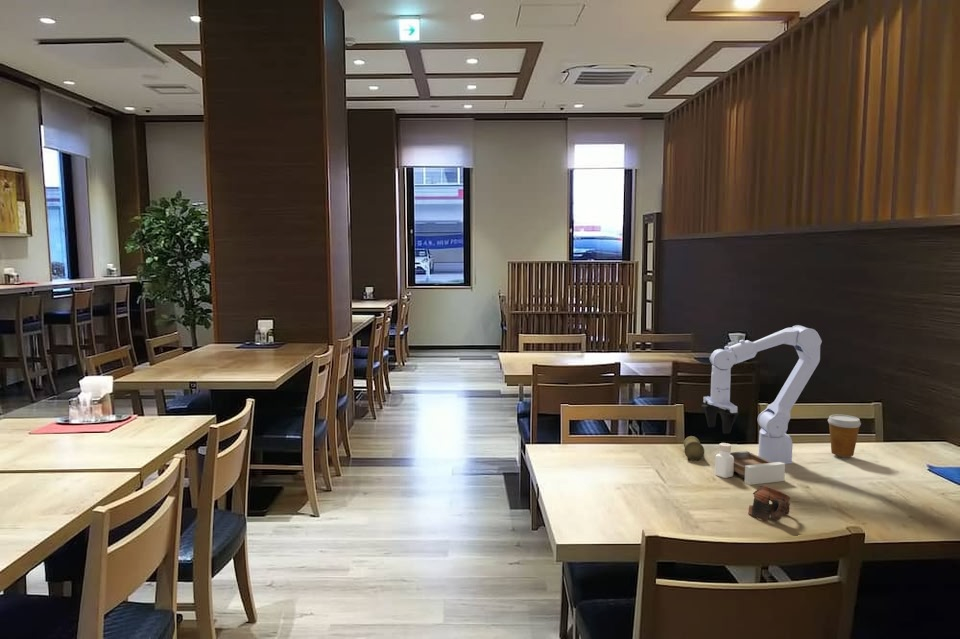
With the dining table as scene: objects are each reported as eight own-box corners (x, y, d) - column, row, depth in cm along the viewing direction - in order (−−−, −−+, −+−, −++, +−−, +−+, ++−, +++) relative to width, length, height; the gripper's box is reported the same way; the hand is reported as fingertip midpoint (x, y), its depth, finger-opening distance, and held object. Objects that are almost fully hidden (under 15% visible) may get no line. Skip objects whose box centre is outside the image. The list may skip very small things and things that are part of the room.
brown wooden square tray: (749, 464, 203) (750, 450, 202) (774, 476, 192) (775, 461, 192) (718, 468, 200) (719, 453, 199) (742, 480, 189) (743, 465, 189)
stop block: (779, 478, 191) (780, 461, 191) (784, 480, 189) (785, 463, 189) (744, 482, 188) (745, 465, 187) (749, 484, 186) (749, 467, 185)
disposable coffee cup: (865, 458, 209) (867, 421, 208) (835, 458, 209) (837, 421, 208) (849, 449, 219) (851, 414, 217) (820, 449, 219) (822, 414, 218)
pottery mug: (738, 510, 168) (749, 480, 169) (770, 526, 169) (781, 496, 170) (764, 519, 156) (776, 487, 157) (798, 536, 157) (810, 503, 158)
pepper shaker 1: (685, 461, 208) (683, 452, 219) (705, 459, 207) (702, 450, 217) (683, 442, 208) (680, 434, 219) (703, 440, 207) (699, 432, 217)
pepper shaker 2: (724, 479, 191) (726, 447, 190) (713, 475, 194) (714, 443, 193) (734, 476, 193) (735, 445, 192) (723, 472, 196) (724, 441, 195)
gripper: (695, 383, 213) (694, 425, 214) (724, 393, 199) (722, 437, 200) (714, 382, 214) (713, 423, 216) (744, 391, 201) (742, 435, 202)
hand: (718, 429), depth 208 cm, fingers open, 7 cm apart
